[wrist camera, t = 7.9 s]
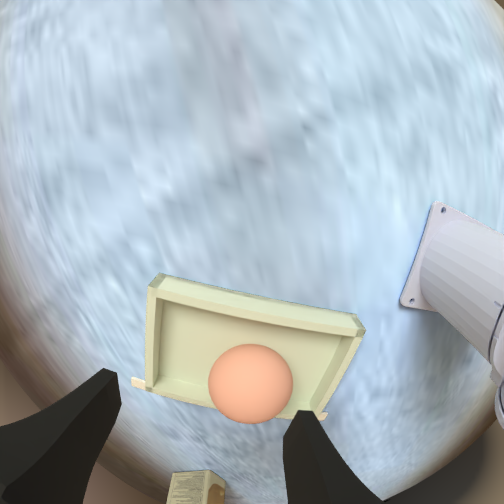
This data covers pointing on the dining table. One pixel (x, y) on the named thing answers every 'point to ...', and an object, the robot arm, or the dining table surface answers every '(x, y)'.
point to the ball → (250, 383)
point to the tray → (242, 340)
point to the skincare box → (196, 488)
